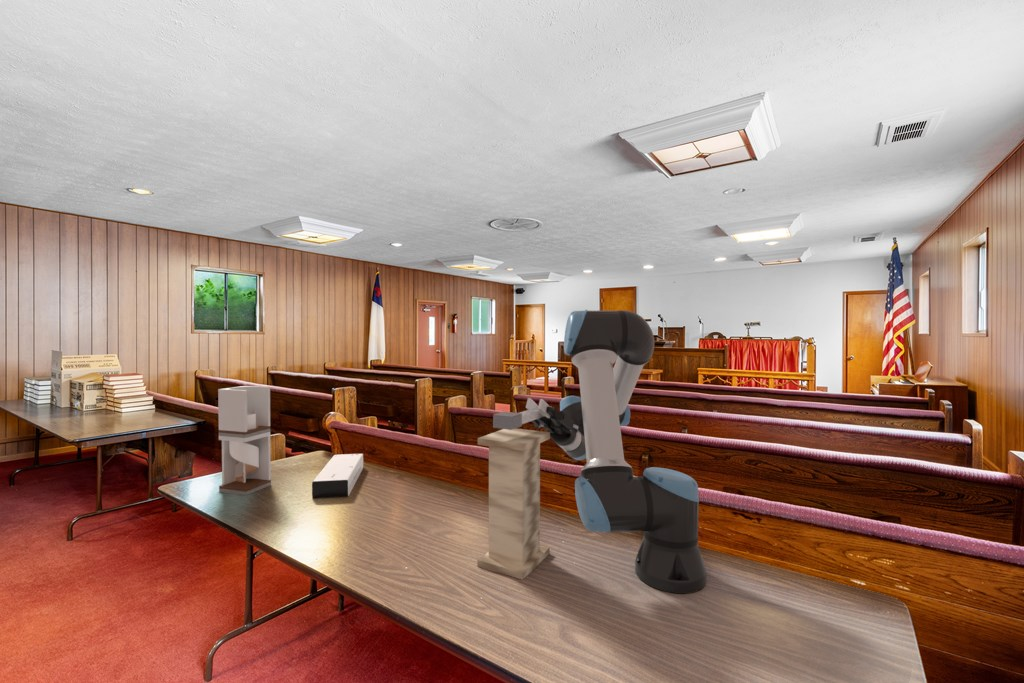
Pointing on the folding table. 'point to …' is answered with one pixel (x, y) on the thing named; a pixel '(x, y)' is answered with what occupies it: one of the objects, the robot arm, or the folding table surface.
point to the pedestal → (514, 502)
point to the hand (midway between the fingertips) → (534, 403)
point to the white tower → (245, 438)
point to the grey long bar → (515, 418)
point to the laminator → (338, 476)
